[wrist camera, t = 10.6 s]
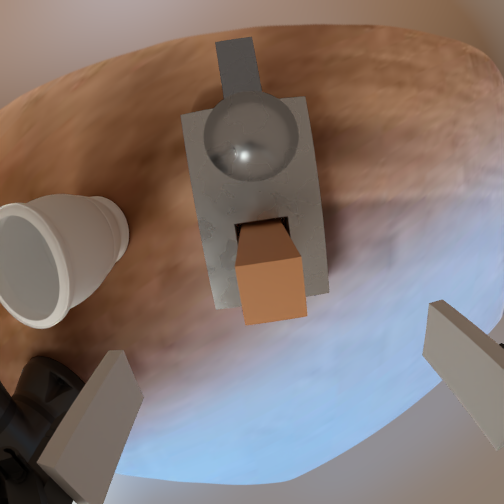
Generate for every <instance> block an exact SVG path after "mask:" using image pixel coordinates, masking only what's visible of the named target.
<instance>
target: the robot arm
mask: <svg viewBox="0 0 504 504" xmlns="http://www.w3.org/2000/svg"><path fill="white" fill-rule="evenodd" d="M422 355H423V357H424V358H425V359H426V360H427V361H428V363H429V364H430V365H431V366H432V367H433V369H434V370H435V371H436V372H437V374H438V375H439V376H440V377H441V378H442V380H443V381H444V382H445V383H446V385H447V386H448V387H449V388H450V390H451V391H452V392H453V394H454V395H455V396H456V397H457V399H458V400H459V401H460V402H461V404H462V405H463V406H464V408H465V409H466V410H467V412H468V413H469V414H470V416H471V417H472V418H473V420H474V421H475V422H476V424H477V425H478V426H479V428H480V429H481V430H482V432H483V433H484V435H485V436H486V437H487V439H488V440H489V441H490V443H491V444H492V446H493V447H494V449H495V450H496V451H498V450H499V449H501V448H502V447H504V344H502V343H501V344H499V345H498V344H497V343H496V342H495V341H494V340H493V339H491V338H490V337H489V336H488V335H487V334H485V333H484V332H483V331H482V330H480V329H479V328H478V327H477V326H476V325H474V324H473V323H472V322H471V321H469V320H468V319H467V318H466V317H464V316H463V315H462V314H461V313H459V312H458V311H457V310H455V309H454V308H453V307H452V306H450V305H449V304H448V303H446V302H445V301H444V300H439V301H436V302H432V303H429V309H428V318H427V327H426V334H425V341H424V348H423V354H422ZM143 399H144V397H143V395H142V392H141V390H140V388H139V386H138V384H137V381H136V379H135V377H134V374H133V372H132V370H131V367H130V365H129V363H128V360H127V358H126V355H125V353H124V350H109V351H108V352H107V354H106V355H105V356H104V358H103V359H102V361H101V362H100V364H99V365H98V367H97V368H96V369H95V371H94V372H93V374H92V375H91V377H90V378H89V380H88V381H87V383H86V384H84V383H83V382H82V381H81V379H80V378H79V377H78V376H77V375H75V374H74V373H73V372H72V371H71V370H70V369H68V368H67V367H65V366H64V365H62V364H61V363H59V362H57V361H55V360H53V359H50V358H47V357H41V356H39V357H34V358H32V359H31V360H30V361H29V362H28V363H27V364H26V365H25V366H24V368H23V370H22V373H21V376H20V378H19V381H18V384H17V387H16V390H15V393H14V394H13V396H12V397H11V396H10V394H9V393H8V392H7V390H6V389H5V387H4V386H3V384H2V383H1V381H0V504H72V502H73V500H74V501H75V502H76V503H77V504H103V503H104V500H105V497H106V494H107V492H108V489H109V486H110V483H111V481H112V478H113V475H114V472H115V470H116V467H117V464H118V462H119V459H120V457H121V454H122V451H123V449H124V446H125V444H126V441H127V439H128V436H129V433H130V431H131V428H132V426H133V423H134V421H135V418H136V416H137V413H138V411H139V409H140V406H141V404H142V401H143Z"/></svg>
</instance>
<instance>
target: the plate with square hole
mask: <svg viewBox="0 0 504 504" xmlns="http://www.w3.org/2000/svg"><path fill="white" fill-rule="evenodd" d="M215 44H216V51H217V57H218V64H219V70H220V76H221V83H222V89H223V96H224V99H223V100H222V101H220V102H219V103H218V104H217V105H216V106H215V107H214V108H212V109H207V110H202V111H197V112H192V113H188V114H183V115H181V122H182V128H183V135H184V142H185V148H186V155H187V161H188V167H189V173H190V179H191V185H192V191H193V196H194V202H195V208H196V213H197V219H198V224H199V229H200V234H201V240H202V245H203V250H204V255H205V260H206V265H207V270H208V275H209V279H210V284H211V289H212V293H213V298H214V303H215V307H216V310H217V309H225V308H232V307H240V306H242V304H241V299H240V293H239V288H238V282H237V277H236V271H235V262H236V256H237V250H238V243H239V235H238V229H237V224H238V223H244V222H251V221H257V220H264V219H271V218H278V217H285V223H286V230H287V233H288V235H289V236H290V238H291V240H292V241H293V243H294V245H295V246H296V248H297V250H298V252H299V253H300V255H301V257H302V266H303V275H304V285H305V295H306V297H307V296H313V295H319V294H325V293H329V281H328V267H327V255H326V244H325V233H324V223H323V214H322V205H321V197H320V188H319V181H318V173H317V166H316V159H315V152H314V145H313V139H312V133H311V126H310V120H309V115H308V109H307V103H306V98H305V96H303V97H292V98H281V99H278V98H276V97H274V96H272V95H270V94H267V93H264V92H262V89H261V84H260V78H259V72H258V67H257V62H256V56H255V51H254V46H253V40H252V37H247V38H239V39H232V40H226V41H220V42H215Z"/></svg>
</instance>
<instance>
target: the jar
mask: <svg viewBox="0 0 504 504" xmlns="http://www.w3.org/2000/svg"><path fill="white" fill-rule="evenodd" d="M128 242H129V228H128V224H127V220H126V218H125V216H124V214H123V212H122V211H121V209H120V208H119V207H118V206H117V205H116V204H115V203H114V202H112V201H111V200H109V199H107V198H104V197H100V196H92V197H87V196H80V195H70V194H53V195H47V196H43V197H40V198H37V199H34V200H32V201H30V202H28V203H12V204H7V205H4V206H2V207H0V302H1V303H2V305H3V306H4V307H5V309H6V310H7V311H8V312H9V313H10V314H11V315H12V316H13V317H15V318H16V319H17V320H18V321H20V322H21V323H23V324H25V325H27V326H30V327H33V328H37V329H46V328H50V327H52V326H54V325H56V324H57V323H59V322H60V321H61V320H62V319H63V318H64V317H65V316H66V315H67V313H68V311H69V309H71V308H73V307H74V306H76V305H78V304H79V303H81V302H82V301H84V300H85V299H87V298H88V297H89V296H90V295H91V294H92V293H93V292H94V291H95V290H96V289H97V288H98V287H99V286H100V285H101V283H102V282H103V281H104V279H105V278H106V276H107V274H108V273H109V272H110V271H111V269H112V268H113V266H114V264H115V262H117V261H118V260H119V259H120V258H121V257H122V256H123V254H124V253H125V251H126V249H127V246H128Z"/></svg>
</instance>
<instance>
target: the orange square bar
mask: <svg viewBox="0 0 504 504" xmlns="http://www.w3.org/2000/svg"><path fill="white" fill-rule="evenodd" d="M235 271H236V277H237V282H238V288H239V293H240V299H241V304H242V309H243V315H244V320H245V325H253V324H260V323H267V322H274V321H280V320H287V319H293V318H299V317H306V316H307V306H306V295H305V285H304V275H303V266H302V257H301V255H300V253H299V252H298V250H297V248H296V246H295V245H294V243H293V241H292V240H291V238H290V236H289V235H288V233H287V231H286V229H285V228H284V226H283V224H282V223H281V221H280V219H279V218H275V219H268V220H261V221H255V222H248V223H242V225H241V231H240V237H239V243H238V250H237V256H236V262H235Z"/></svg>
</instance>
